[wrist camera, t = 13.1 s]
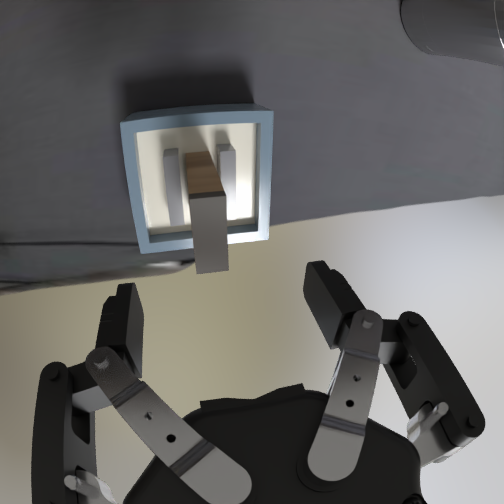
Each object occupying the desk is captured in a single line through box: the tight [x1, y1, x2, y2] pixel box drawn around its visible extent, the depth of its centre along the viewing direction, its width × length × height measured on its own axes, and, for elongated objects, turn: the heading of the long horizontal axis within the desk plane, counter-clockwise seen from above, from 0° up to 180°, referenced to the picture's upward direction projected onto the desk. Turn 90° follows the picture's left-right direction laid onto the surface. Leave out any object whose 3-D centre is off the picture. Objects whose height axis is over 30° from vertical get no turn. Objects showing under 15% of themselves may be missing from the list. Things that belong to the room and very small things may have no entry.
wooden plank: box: [186, 151, 229, 274], centre depth 21 cm, size 5×2×10 cm, turn 179°
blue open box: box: [120, 103, 274, 254], centre depth 26 cm, size 12×12×8 cm
